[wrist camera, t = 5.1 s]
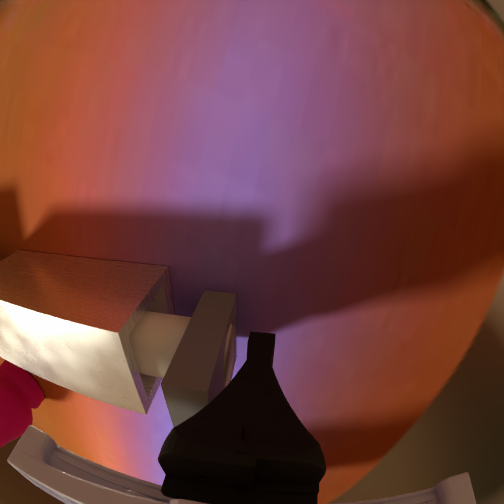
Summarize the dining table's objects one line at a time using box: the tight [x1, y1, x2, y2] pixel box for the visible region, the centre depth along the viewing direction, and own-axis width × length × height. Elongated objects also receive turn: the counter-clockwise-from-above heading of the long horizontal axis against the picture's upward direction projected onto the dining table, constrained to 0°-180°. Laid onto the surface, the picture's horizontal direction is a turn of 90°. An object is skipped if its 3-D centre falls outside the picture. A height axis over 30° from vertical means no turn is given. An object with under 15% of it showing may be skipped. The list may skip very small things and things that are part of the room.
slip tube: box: [128, 290, 237, 427], centre depth 12 cm, size 23×4×6 cm, turn 88°
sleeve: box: [0, 250, 174, 414], centre depth 13 cm, size 12×5×5 cm, turn 88°
